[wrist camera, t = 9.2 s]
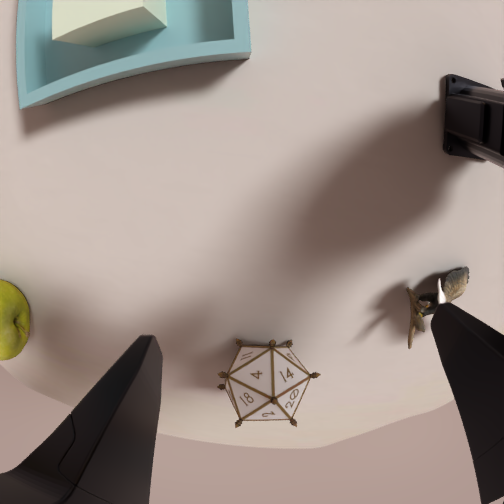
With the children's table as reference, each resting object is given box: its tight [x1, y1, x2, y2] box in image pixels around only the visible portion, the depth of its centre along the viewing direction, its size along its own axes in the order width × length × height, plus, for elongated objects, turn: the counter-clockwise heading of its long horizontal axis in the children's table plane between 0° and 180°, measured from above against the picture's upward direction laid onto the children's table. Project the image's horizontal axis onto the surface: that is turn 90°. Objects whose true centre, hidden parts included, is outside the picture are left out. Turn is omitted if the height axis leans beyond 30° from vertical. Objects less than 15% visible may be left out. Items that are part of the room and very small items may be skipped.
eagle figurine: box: [407, 267, 469, 349], centre depth 23 cm, size 8×7×9 cm
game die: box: [218, 338, 321, 428], centre depth 24 cm, size 9×8×10 cm
